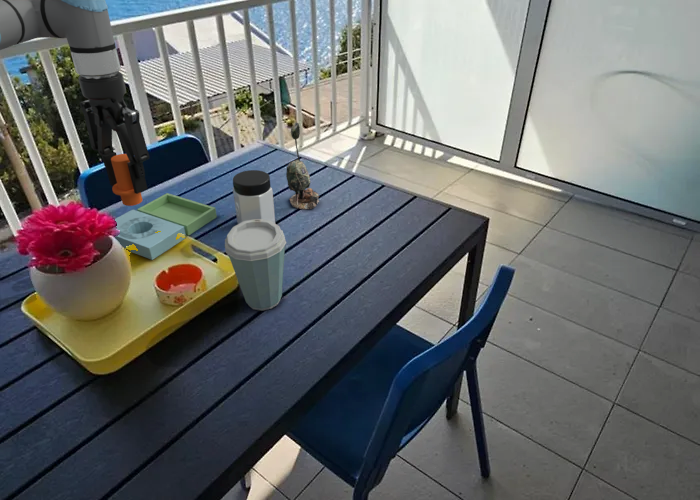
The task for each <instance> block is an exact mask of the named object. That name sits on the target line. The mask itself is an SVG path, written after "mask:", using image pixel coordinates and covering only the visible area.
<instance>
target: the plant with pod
mask: <svg viewBox="0 0 700 500" xmlns="http://www.w3.org/2000/svg"><path fill="white" fill-rule="evenodd" d="M300 135H301V127H300V124H299V122H296V121H295V122H294V124H293V125H292V126H291V128H290V136H291V137H292V139H293V140H294V144H295V149H296V155H297V159H295V160H293V161H290V162H289V163H288V164H286V163H284V165H285V166H286V165H287V166H286V172H285V173H286V174H285V176H286V181H287V186H288V189H289V190H290V191H293V192H294V193H295V194H293V195H292V196H291V197H289V202H290V204H291V206H292V207H293V208H296V209H300V210H312V209H315V208H316V207H317V206H318V204H319V202H320V200H319V197H320V196H319V193H318V192H316V191H314V190H313V188H311V176H310V174H309V171H308V169H307V166H306V164H305V163H304V161H302V160H300V155H299V150H298V142H297V141H298V139H299V138H300Z"/></svg>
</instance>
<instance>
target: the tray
mask: <svg viewBox="0 0 700 500" xmlns="http://www.w3.org/2000/svg"><path fill="white" fill-rule="evenodd" d="M136 211H139V212H142V213H145V214H148V215H151V216H154V217H157V218H160V219H163V220H166V221H169V222H172V223H175V224H178V225H181V226H184V229H185V234H186V236H191V235H192V234H194V233H195V232H197V231H198V230H200V229H202V227H204V226H206V225H207V224H209V223H211V222H212V221H214V220H215V219H216V218H218V215H217V209H216V207H214V206H211V205H209V204H208V205H207V204H205V203H201V202H198V201H195V200H191V199H188V198H185V197H181V196H178V195H175V194H172V193H168V192H167V193H165V194H163V195H161V196H159V197H157V198H156V199H153V200H151V201H150V202H148V203H146V204H144V205H142V206H140V207H138V208H136Z"/></svg>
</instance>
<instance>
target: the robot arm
mask: <svg viewBox="0 0 700 500" xmlns="http://www.w3.org/2000/svg"><path fill="white" fill-rule="evenodd" d="M113 33H114V32H113V29H112V24H111V20H110V14H109V6H108V4H107V2H106V0H0V51H1V50H4V49H7V48H10V47H13V46H18V45H20V44H23V43H27V42H29V41H32V40H35V39H39V38H40V39H41V38H44V39H45V38H47V39H66V41H67V44H68V47H69V51H70V54H71V58H72V62H73V66H74V69H75V72H76V74H78V75H79V76H78V82H79V87H80V91H81V94H82V96H83V97H84V98H85V99H86V100H83V101H80V102H79V107H80V109H81V111H82V113H83V117H84V121H85V126H86V131H87V135H88V138H89V144H90V147H91V149H92V150H93V151H98V154H99V155H100V156H101V158H102V162H103V166H104V169H105V170H106V174H107V178H108V182H109V185H110V186H112V187H113V186H114V185H115V184H116V183H117V181H116V177H115V173H114V169H113V166H112V162H111V158H112V157H113V156H115V155H118V154H117V152H116V148H115V147H114V146H113V132H115V133H116V135H117V138H118V139H119V142H120V144H121V146H122V148H123V150H124V153H125V154H127V157H128V159H129V161H130V162H128V163H127V165H128V169H129V173H130V177H131V181H132V185H133V189H134V193H136V194H138V193H140V192H141V193H142V192H144V191H146V190H148V186H147V181H146V171H145V167H144V163H143V162H146V161H147V160H149V159H150V153H149V150H148V146H147V143H146V139H145V136H144V133H143V128H142V125H141V122H140V121H141V120H140V119H141V118H140V117H141V116H140V115H141V114H140V110H138V109H133V110H132V109H130V108H129V107H128V105H127V104H126V102H125V100H124V96H125V94H126V93H127V89H126V88H127V87H126V84H125V79H124V75H123V74H122V72H120V71H121V69H122V67H121V63H120V58H119V54H118V51H117V46H116V42H115V38H114V34H113Z"/></svg>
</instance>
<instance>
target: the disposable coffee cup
mask: <svg viewBox="0 0 700 500" xmlns="http://www.w3.org/2000/svg"><path fill="white" fill-rule="evenodd" d="M286 244H287V241H286V236H285V234H284V231H283V229H281V227H280V225H278V223H277V224H276V222H275V223H274V222H272V221H270V220H263V219H254V220H247V221H243V222H241V223H240V224H238V223H237V224H236V225H234V226H232V228H231V229H230V230H229V232H228V233H227V235H226V237H225V239H224V248H225V249H224V250H225V253H226V254H227V255H228V258H229V260H230V264H231V265H232V268H233V271H234V273H235V277H236V280H237V282H238V285H239V287H240V291H241V292H242V294H243V295H242V296H243V298H244V300H245V303H246V304H247V305H248V307H250V308H251V309H252V310H255V311H261V312H262V311H267V310H271V309H273V308H275V307H276V306H278V305H279V303H280V301H281V298H283V285H284V284H283V283H284V269H285V268H284V266H285V253H286V252H285V251H286V250H285V249H286Z"/></svg>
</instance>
